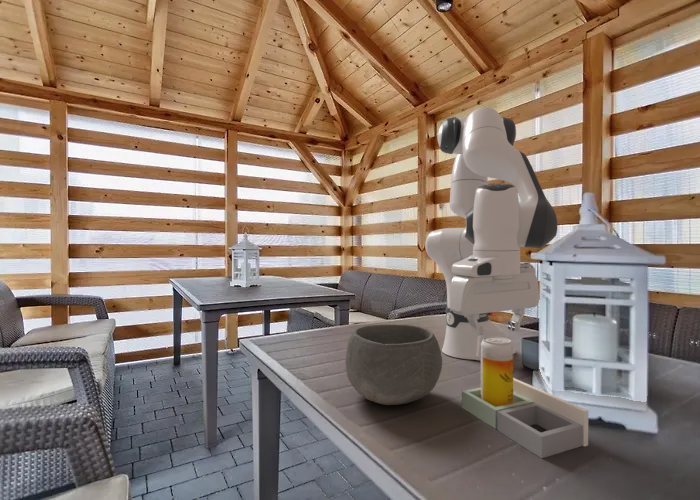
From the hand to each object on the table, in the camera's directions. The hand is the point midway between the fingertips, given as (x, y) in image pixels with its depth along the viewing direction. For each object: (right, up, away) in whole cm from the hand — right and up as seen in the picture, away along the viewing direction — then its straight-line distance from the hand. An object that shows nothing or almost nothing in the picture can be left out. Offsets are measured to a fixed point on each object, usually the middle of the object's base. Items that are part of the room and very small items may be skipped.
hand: (496, 332), depth 74 cm
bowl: (-20, -17, +7) cm, 27 cm away
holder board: (+2, -16, -5) cm, 17 cm away
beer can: (0, -17, 0) cm, 17 cm away
